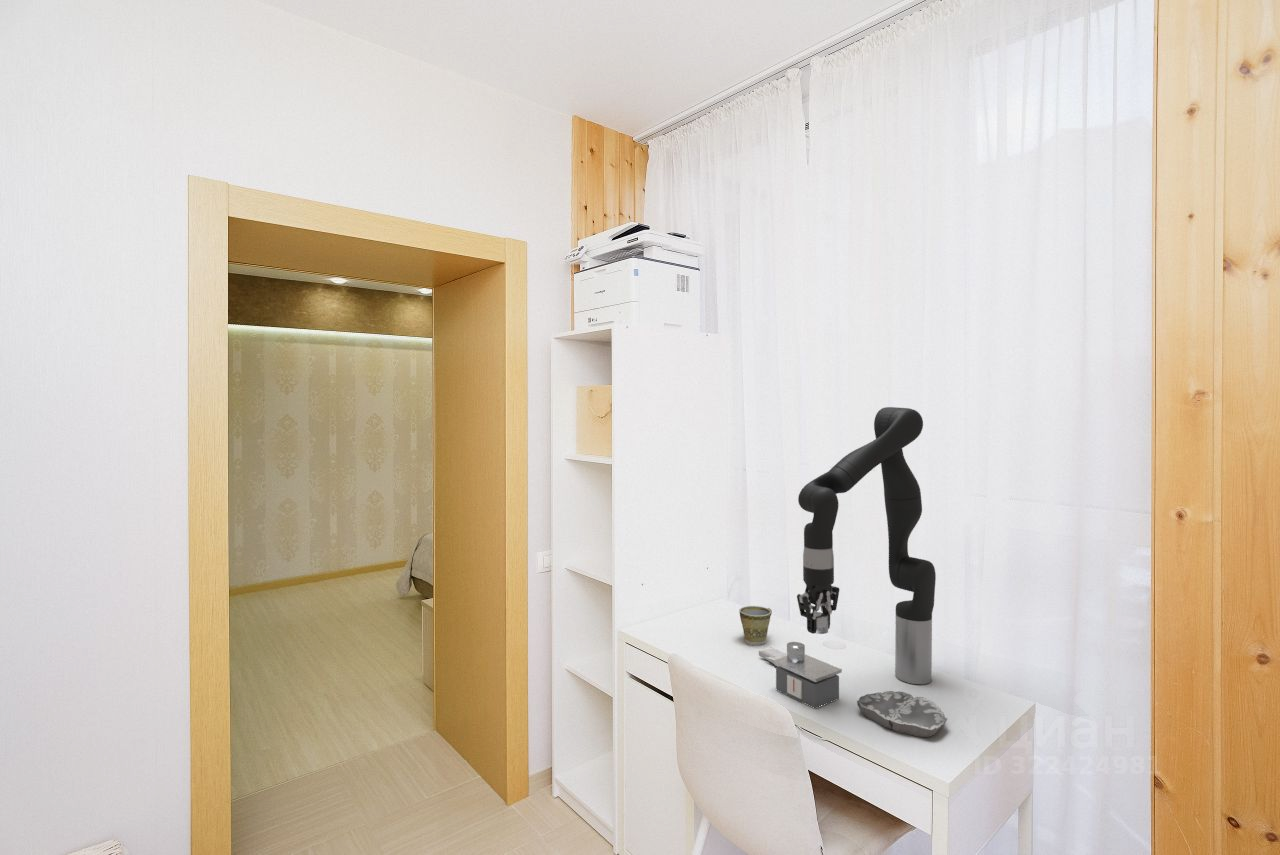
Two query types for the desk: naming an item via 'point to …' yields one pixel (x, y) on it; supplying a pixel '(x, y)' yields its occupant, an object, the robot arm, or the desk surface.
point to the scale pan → (809, 668)
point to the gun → (771, 654)
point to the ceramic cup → (755, 623)
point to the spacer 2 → (821, 623)
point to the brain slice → (903, 713)
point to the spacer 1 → (795, 652)
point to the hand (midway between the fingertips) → (818, 630)
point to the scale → (807, 687)
